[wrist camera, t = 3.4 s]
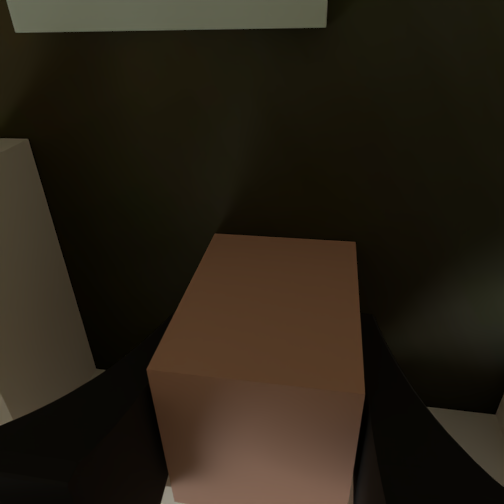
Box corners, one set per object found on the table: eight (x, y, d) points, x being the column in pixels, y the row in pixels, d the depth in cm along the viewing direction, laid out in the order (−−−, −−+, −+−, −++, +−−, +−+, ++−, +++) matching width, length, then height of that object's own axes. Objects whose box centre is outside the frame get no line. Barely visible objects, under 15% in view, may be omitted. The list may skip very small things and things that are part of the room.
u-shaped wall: (77, 385, 20) (14, 480, 16) (-7, 138, 14) (-137, 195, 10) (520, 439, 17) (573, 572, 13) (652, 154, 11) (818, 245, 7)
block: (224, 347, 17) (174, 501, 12) (214, 233, 14) (146, 369, 9) (342, 359, 16) (344, 529, 11) (355, 242, 14) (364, 394, 8)
